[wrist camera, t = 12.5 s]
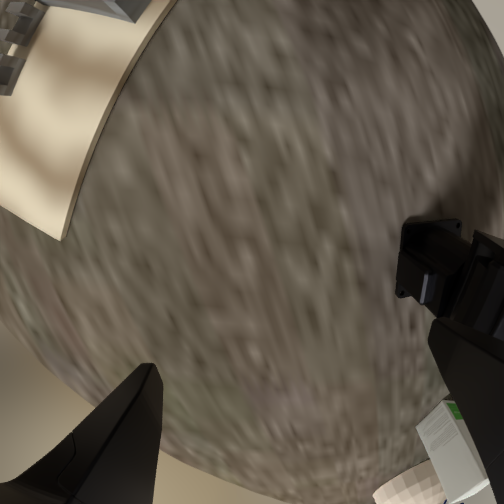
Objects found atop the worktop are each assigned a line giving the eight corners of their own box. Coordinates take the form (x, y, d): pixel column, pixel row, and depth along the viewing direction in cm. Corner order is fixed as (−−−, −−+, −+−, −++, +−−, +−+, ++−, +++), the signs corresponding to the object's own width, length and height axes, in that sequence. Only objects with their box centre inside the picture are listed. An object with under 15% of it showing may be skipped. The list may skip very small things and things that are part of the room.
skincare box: (466, 400, 33) (508, 467, 18) (439, 427, 35) (475, 494, 20) (441, 398, 31) (488, 479, 17) (411, 428, 33) (449, 507, 19)
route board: (107, -76, 9) (89, -103, 4) (228, -58, 12) (228, -95, 7) (-25, 181, 17) (-61, 194, 12) (66, 236, 19) (31, 262, 15)
